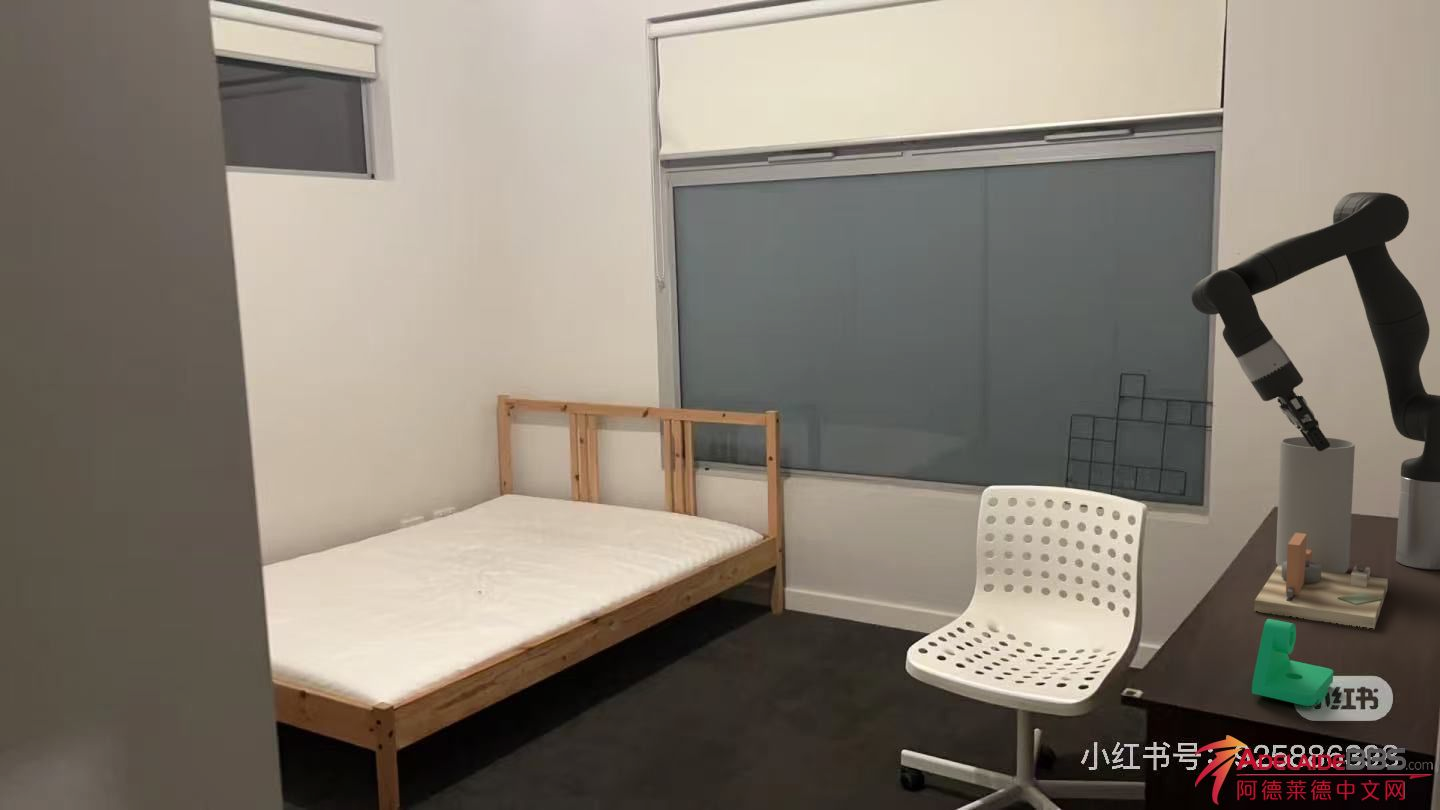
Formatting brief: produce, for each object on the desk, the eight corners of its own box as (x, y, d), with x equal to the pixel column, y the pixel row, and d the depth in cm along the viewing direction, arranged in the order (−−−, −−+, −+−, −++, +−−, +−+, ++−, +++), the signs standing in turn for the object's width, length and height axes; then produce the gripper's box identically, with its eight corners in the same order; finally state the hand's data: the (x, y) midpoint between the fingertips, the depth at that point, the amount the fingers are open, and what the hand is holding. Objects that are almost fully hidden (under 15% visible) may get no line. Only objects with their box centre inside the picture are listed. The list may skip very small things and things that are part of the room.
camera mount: (1310, 714, 149) (1314, 642, 148) (1251, 700, 154) (1254, 630, 153) (1334, 686, 158) (1337, 618, 156) (1277, 674, 163) (1280, 608, 161)
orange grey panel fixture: (1286, 567, 205) (1288, 521, 204) (1324, 572, 202) (1327, 525, 200) (1268, 595, 190) (1270, 545, 189) (1310, 601, 186) (1312, 550, 185)
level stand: (1277, 575, 209) (1278, 546, 208) (1388, 589, 198) (1390, 559, 197) (1254, 611, 189) (1255, 580, 189) (1375, 629, 179) (1377, 596, 178)
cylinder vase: (1352, 580, 204) (1359, 449, 200) (1278, 574, 209) (1283, 446, 205) (1344, 562, 215) (1350, 437, 212) (1273, 557, 220) (1278, 435, 217)
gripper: (1294, 359, 188) (1349, 439, 186) (1284, 357, 201) (1334, 432, 199) (1253, 381, 190) (1306, 461, 188) (1245, 378, 204) (1295, 453, 202)
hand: (1320, 446), depth 194 cm, fingers open, 8 cm apart
